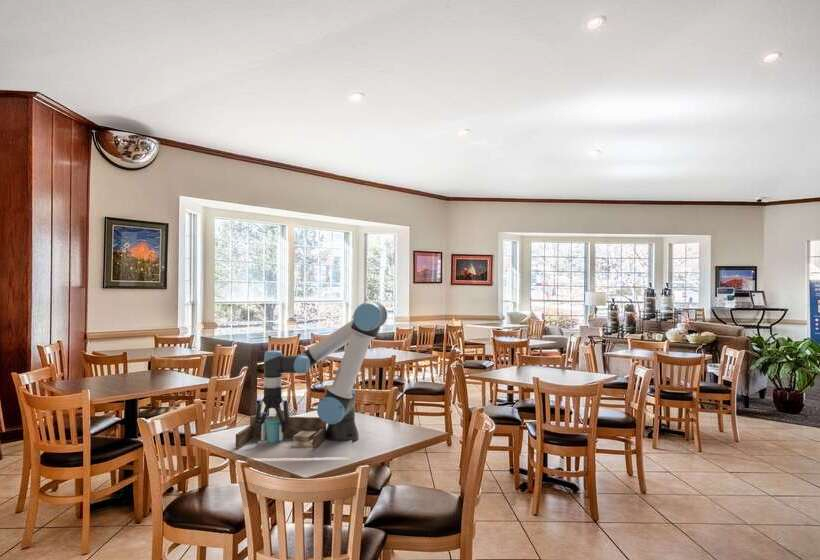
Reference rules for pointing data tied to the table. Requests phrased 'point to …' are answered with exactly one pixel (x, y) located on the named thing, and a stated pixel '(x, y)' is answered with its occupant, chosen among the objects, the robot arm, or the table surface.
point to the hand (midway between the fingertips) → (272, 439)
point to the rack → (290, 430)
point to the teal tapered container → (272, 427)
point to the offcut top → (304, 436)
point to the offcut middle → (303, 443)
